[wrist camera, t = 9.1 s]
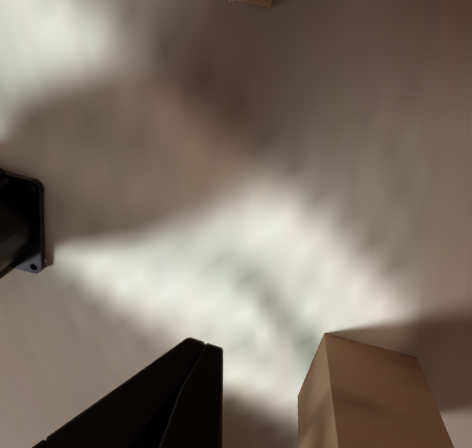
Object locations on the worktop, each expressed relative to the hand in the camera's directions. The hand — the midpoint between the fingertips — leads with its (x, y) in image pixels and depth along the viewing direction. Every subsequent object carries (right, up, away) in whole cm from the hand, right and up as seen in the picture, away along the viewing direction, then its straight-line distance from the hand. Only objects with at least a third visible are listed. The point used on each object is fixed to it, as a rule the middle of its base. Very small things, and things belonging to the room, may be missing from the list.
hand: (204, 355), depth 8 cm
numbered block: (+9, -7, +16) cm, 20 cm away
